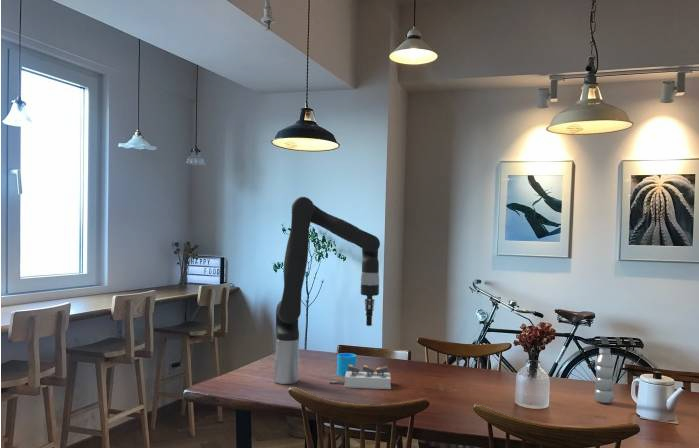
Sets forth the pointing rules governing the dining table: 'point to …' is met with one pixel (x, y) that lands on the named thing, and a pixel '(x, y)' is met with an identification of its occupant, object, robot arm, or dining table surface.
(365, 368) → the rocker
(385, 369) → the rocker
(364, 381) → the power strip
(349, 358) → the mug
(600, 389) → the plastic bottle
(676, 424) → the dining table surface
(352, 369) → the rocker
